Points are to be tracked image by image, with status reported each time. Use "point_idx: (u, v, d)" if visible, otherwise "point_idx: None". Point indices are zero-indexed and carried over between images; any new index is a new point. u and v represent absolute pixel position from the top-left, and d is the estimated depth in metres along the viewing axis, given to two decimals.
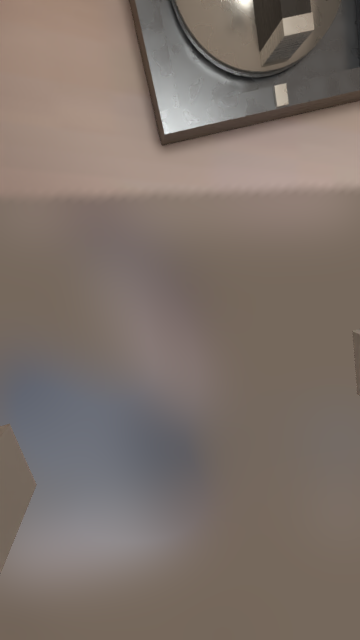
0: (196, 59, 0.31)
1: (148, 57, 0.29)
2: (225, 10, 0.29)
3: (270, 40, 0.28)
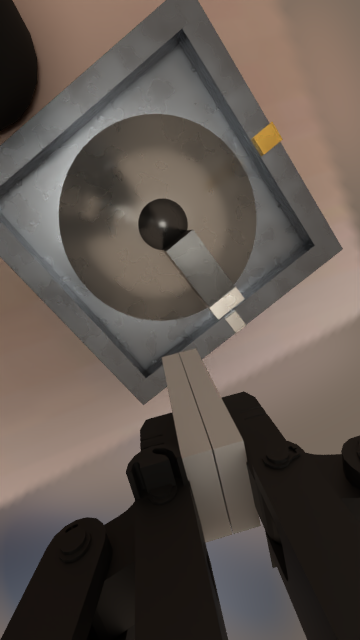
0: (141, 320, 0.31)
1: (99, 357, 0.29)
2: (148, 281, 0.29)
3: (204, 303, 0.27)
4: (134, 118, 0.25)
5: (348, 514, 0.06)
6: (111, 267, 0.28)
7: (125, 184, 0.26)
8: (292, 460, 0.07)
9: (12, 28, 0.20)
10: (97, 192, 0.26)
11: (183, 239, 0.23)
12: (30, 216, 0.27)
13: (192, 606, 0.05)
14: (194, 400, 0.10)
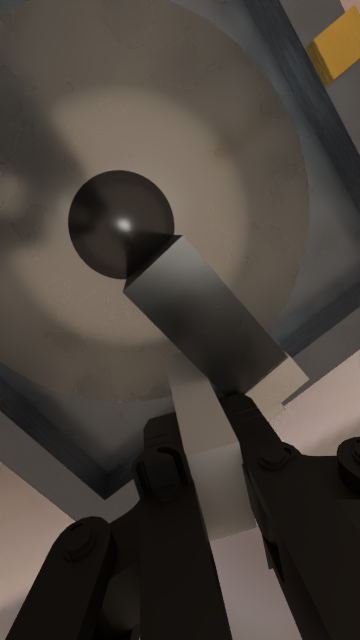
0: None
1: (15, 470, 0.16)
2: (111, 335, 0.15)
3: None
4: (42, 1, 0.12)
5: (343, 515, 0.06)
6: (35, 315, 0.14)
7: (42, 148, 0.13)
8: (288, 461, 0.07)
9: None
10: None
11: (161, 260, 0.10)
12: None
13: (197, 604, 0.05)
14: (190, 401, 0.10)
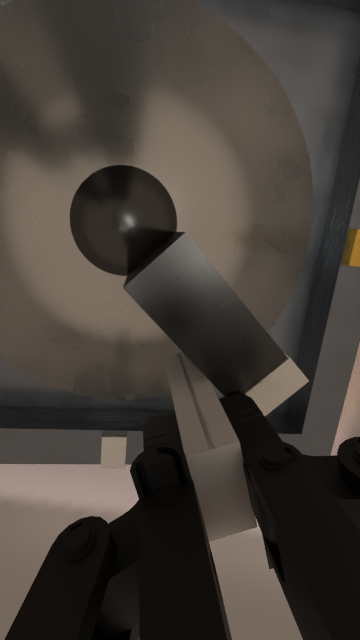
0: None
1: None
2: (109, 332, 0.15)
3: None
4: None
5: (344, 515, 0.06)
6: (34, 309, 0.14)
7: (46, 141, 0.13)
8: (288, 461, 0.07)
9: None
10: None
11: (163, 257, 0.09)
12: None
13: (197, 605, 0.05)
14: (191, 401, 0.10)
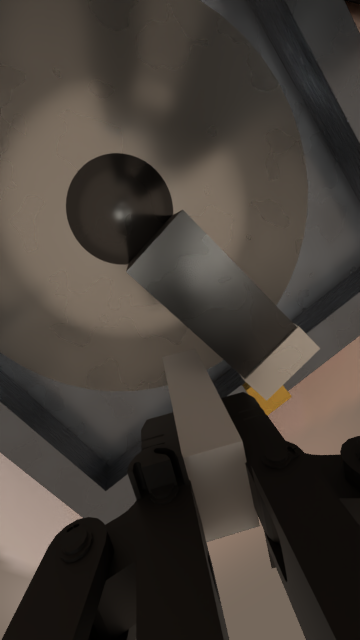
0: None
1: None
2: (116, 324, 0.15)
3: None
4: None
5: (347, 515, 0.06)
6: (40, 309, 0.14)
7: (35, 139, 0.13)
8: (291, 460, 0.07)
9: None
10: None
11: (163, 237, 0.10)
12: None
13: (193, 606, 0.05)
14: (193, 400, 0.10)
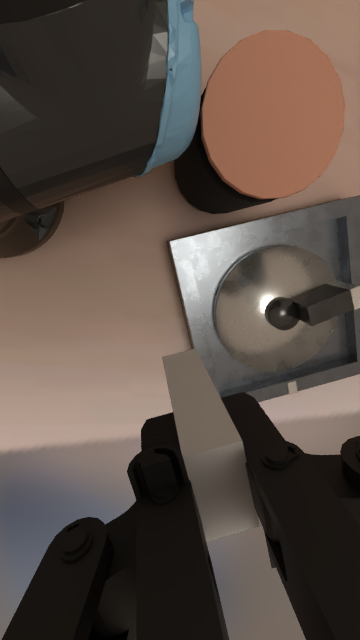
0: (232, 359, 0.44)
1: None
2: (307, 329, 0.43)
3: None
4: (217, 309, 0.41)
5: (346, 514, 0.06)
6: (290, 349, 0.43)
7: (249, 325, 0.42)
8: (291, 460, 0.07)
9: None
10: (247, 343, 0.42)
11: (309, 314, 0.37)
12: (204, 269, 0.41)
13: (194, 606, 0.05)
14: (193, 400, 0.10)
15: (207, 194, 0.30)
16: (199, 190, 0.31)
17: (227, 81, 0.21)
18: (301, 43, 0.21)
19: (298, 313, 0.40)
